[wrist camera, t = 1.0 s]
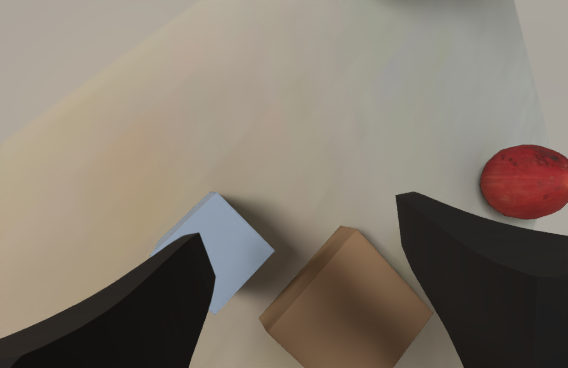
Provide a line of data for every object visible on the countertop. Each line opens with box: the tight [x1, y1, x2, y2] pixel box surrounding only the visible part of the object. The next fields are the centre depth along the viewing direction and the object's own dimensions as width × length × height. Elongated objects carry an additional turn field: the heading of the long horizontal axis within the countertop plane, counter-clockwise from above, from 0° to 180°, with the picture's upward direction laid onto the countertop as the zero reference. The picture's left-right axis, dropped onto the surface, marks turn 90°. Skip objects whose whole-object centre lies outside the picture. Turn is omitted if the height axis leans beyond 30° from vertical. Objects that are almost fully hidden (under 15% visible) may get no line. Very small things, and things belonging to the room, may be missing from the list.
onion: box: [480, 145, 568, 220], centre depth 25 cm, size 6×6×8 cm
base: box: [259, 226, 433, 368], centre depth 24 cm, size 9×9×2 cm
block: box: [150, 192, 275, 315], centre depth 20 cm, size 4×4×6 cm
